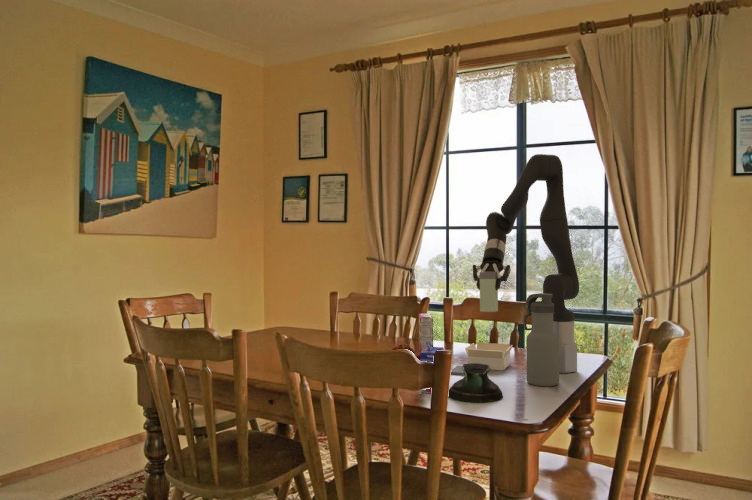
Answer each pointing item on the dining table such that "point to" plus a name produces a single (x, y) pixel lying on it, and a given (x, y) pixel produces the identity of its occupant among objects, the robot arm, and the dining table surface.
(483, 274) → the sage box
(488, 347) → the cream storage bin
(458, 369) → the felt mat
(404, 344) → the dragon fruit
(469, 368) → the dark green flared pedestal
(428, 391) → the ink cartridge box
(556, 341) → the water bottle
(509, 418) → the dining table surface
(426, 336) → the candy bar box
